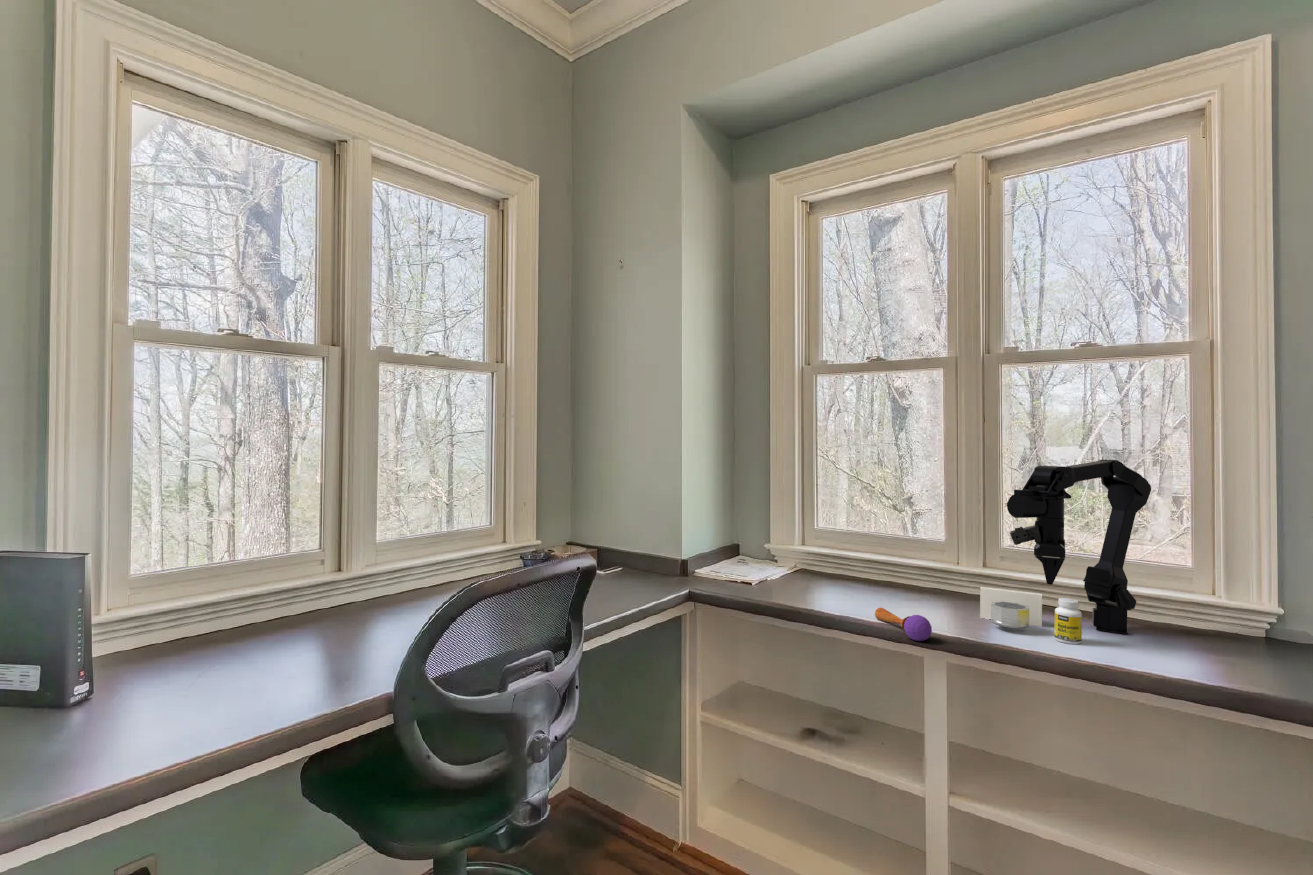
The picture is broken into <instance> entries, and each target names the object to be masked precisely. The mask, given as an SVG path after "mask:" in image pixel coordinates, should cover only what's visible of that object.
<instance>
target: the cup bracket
mask: <svg viewBox="0 0 1313 875" xmlns="http://www.w3.org/2000/svg"><path fill="white" fill-rule="evenodd" d="M990 622H991V623H992V624H994V625H996V626H1000V627H1004V628H1009V629H1010V628H1011V629H1026V628H1029V627H1030V625H1029V606H1026V605H1023V604H1020V603H1014V602H1006V601H996V602H992V603H991V620H990Z"/></svg>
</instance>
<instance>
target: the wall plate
mask: <svg viewBox="0 0 1313 875" xmlns="http://www.w3.org/2000/svg"><path fill="white" fill-rule="evenodd" d="M979 593H980V594H979V597H980V598H979V603H980V604H979V605H980V606H979V618H980V619H982V618H985V619H984V620H989V619H991V603H992V602H996V601H1006V602H1014V603H1020V604H1023V605H1026V606H1029V626H1033V625H1034V626H1035V627H1040V626H1041V627H1042V626H1043V622H1042V621H1043V594H1042V593H1037V592H1030V591H1022V590H1021V591H1020V590H1012V589H1004V588H996V587H995V588H994V587H985V586H980V591H979Z"/></svg>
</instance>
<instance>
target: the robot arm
mask: <svg viewBox="0 0 1313 875" xmlns="http://www.w3.org/2000/svg"><path fill="white" fill-rule="evenodd" d="M1095 479H1100V480H1101V482H1100V483H1101V485H1103V486H1104V487H1105V488H1106V490H1107V495H1106V496H1107V500H1108V502H1109V504H1110V507H1111V511H1110V515H1109V518H1108V521H1107V522H1108V524H1107V527H1106V530H1105V535H1104V539H1103V544H1102V548H1101V551H1100V556H1099V561H1098V562H1097V563H1096V564H1095V565H1094V566H1087V568H1086V571H1085V576H1084V578H1083V580H1082V582H1084V583H1083V584H1084V585H1083V587H1084V590H1085V594H1086V597H1087V599H1088V602H1090V603H1095V606H1094V607H1093V608H1092V626H1094V628H1095V629H1096V631H1100V632H1106V633H1114V634H1122V635H1129V634H1130V633H1129V630H1128V611H1132V610H1135V608H1136V605H1137V600H1136V598H1135V597H1134V596H1133V595H1132V594H1131V592H1130V591H1129V589H1128V577H1127V575H1126V572H1125V570H1124V564H1125V561H1126V557H1127V552H1128V548H1129V545H1130V539H1131V535H1132V531H1133V528H1134V524H1135V523H1134V522H1135V518H1136V515H1137V514H1138V512H1139V511H1140V510H1142V508H1143V507H1144V506H1146V505H1147V503H1148V500H1149V498H1150V495H1151V492H1152V486H1151V484H1150V483H1149V481H1148V480H1147V479H1146V478H1144V476H1143V475H1141V474H1140V473H1138V472H1136V470H1135V471H1134V470H1133V469H1131V468H1129V467H1128V466H1126V465H1125V464H1124V463H1123V462H1122V461H1120V460H1118V459H1099V460H1096V461H1091V462H1084V463H1078V464H1073V465H1072V464H1071V465H1067V466H1061V465H1059V466H1058V465H1056V466H1055V465H1037V466H1035V467H1034V470H1033V472H1032V473H1031V475H1030V477H1029V478H1028V479H1027V481H1026V483H1025V485H1024V486H1023V488H1022V489H1014V490H1013V494H1012V495H1010V497H1009V498H1008V500H1007V503H1006V508H1007V511H1008V513H1009V515H1010V516H1012V518H1015V519H1027V518H1028V519H1029V518H1030V519H1032V518H1036V520H1035V521H1034V524H1033V525H1031V526H1025V527H1023V526H1020V527H1015V528H1014V530H1010V531H1009V534H1010V537H1011V539H1012V542H1013V544H1014V545H1015V546H1018V545H1020V544H1023V543H1027V542H1030V541H1034V543H1035V544H1034V546H1033V556H1034V558H1035V559H1037V560H1038V561H1039V562H1040V563H1041V564H1042V568H1043V573H1044V577H1045V578H1044V579H1045V582H1046V585H1049V586H1052V585H1053V584H1054V582H1055V580H1056V578H1057V576H1058V574H1059V572H1060V571H1061V570H1060V569H1061V568H1062V565H1063V564H1064V561H1065V560H1066V539H1065V500H1067V499H1068V500H1069V499H1072V494H1070V493H1068V492H1067V491H1066V489H1069V488H1071V487H1073V486H1074V485H1075V484H1076V483H1079V482H1083V481H1089V480H1095Z"/></svg>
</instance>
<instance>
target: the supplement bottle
mask: <svg viewBox="0 0 1313 875" xmlns="http://www.w3.org/2000/svg"><path fill="white" fill-rule="evenodd" d="M1057 599H1058V600H1057V602H1058V607H1056V608H1055V609H1054V623H1053V624H1054V625H1053V628H1054V630H1053V632H1054V633H1053V638H1054V640H1056V641H1057V642H1059V643H1063V644H1068V645H1080V644H1081V643H1082V638H1083V637H1082V636H1083V634H1082V633H1083V631H1082V630H1083V629H1082V628H1083V627H1082V626H1083V615H1082V614H1083V613H1082V612H1081V610H1079V609H1078V608H1079V606H1080V605H1079V600H1077V599H1074V598H1067V597H1059V598H1057Z"/></svg>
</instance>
